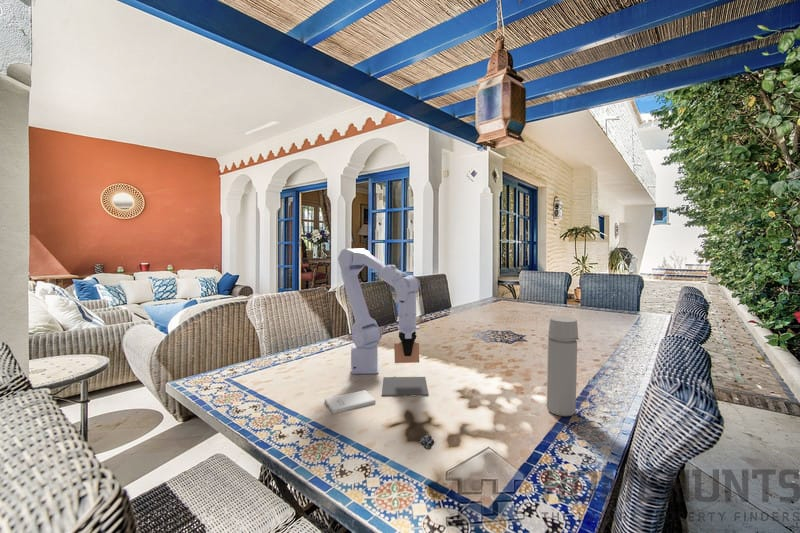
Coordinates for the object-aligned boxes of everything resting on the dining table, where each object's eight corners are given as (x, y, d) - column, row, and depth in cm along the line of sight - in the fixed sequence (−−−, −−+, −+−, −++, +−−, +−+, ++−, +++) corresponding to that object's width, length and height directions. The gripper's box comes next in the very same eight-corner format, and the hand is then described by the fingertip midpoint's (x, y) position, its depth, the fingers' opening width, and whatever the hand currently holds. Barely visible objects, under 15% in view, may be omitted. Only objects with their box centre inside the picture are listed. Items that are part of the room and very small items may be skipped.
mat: (381, 396, 107) (381, 394, 107) (383, 378, 121) (383, 377, 121) (428, 395, 107) (428, 394, 107) (425, 377, 121) (425, 376, 121)
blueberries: (441, 436, 86) (441, 428, 86) (447, 453, 78) (446, 444, 78) (413, 437, 86) (413, 429, 86) (416, 454, 78) (415, 446, 78)
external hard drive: (375, 405, 102) (333, 415, 96) (364, 394, 109) (324, 403, 104) (375, 399, 102) (332, 409, 96) (364, 389, 109) (324, 397, 104)
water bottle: (575, 420, 91) (577, 323, 89) (542, 413, 95) (544, 320, 94) (579, 406, 99) (581, 316, 97) (548, 400, 103) (550, 314, 101)
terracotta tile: (394, 363, 117) (394, 343, 116) (394, 361, 118) (394, 342, 118) (419, 362, 117) (419, 342, 116) (418, 360, 118) (418, 341, 118)
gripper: (421, 318, 109) (421, 361, 110) (418, 309, 124) (418, 348, 125) (398, 318, 109) (398, 362, 110) (397, 309, 124) (397, 348, 125)
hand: (407, 354), depth 117 cm, fingers closed on terracotta tile, 2 cm apart
